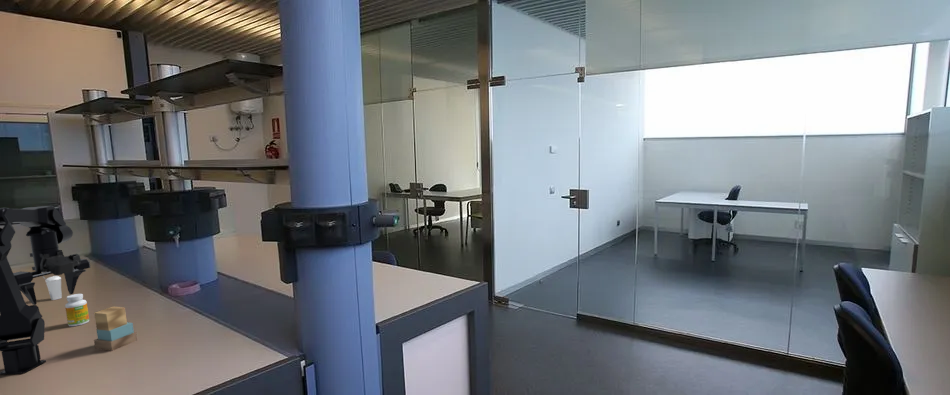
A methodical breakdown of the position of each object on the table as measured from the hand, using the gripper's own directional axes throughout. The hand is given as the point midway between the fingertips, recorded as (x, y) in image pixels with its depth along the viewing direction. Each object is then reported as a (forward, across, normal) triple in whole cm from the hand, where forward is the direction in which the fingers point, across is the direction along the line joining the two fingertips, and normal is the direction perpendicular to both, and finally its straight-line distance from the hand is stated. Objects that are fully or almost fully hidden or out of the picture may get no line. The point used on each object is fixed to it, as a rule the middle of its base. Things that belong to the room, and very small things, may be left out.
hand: (53, 299), depth 134 cm
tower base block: (+14, +2, -22) cm, 25 cm away
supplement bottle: (+13, +11, +10) cm, 20 cm away
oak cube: (+8, +2, -21) cm, 23 cm away
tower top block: (+10, +2, -22) cm, 24 cm away
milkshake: (+13, +28, +53) cm, 61 cm away
